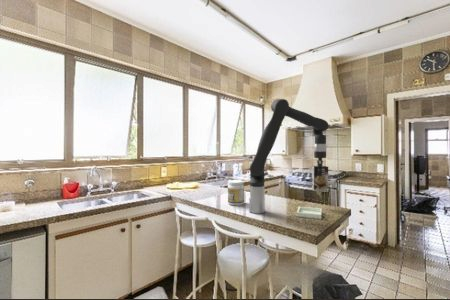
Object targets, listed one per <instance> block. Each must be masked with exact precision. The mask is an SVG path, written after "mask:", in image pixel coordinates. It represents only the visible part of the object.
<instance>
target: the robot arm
mask: <svg viewBox="0 0 450 300" xmlns="http://www.w3.org/2000/svg"><path fill="white" fill-rule="evenodd" d="M289 103H290V102H289V101H288V100H287V99H284V98H281V99H279V98H278V99H275V100H274V101H272V102H271V106H270V109H271V111H272V112H273V114H272V116H271V119H270V120H269V122H268V123H267V125H266V126H265V128H264V130H263V131H262V134H261V136H260V139H259V142H258V145H257V149H256V153H255V155H254V158H253V160H252V162H251V164H250V166H249V172H250V175H249V176H250V179H249V192H250V193H249V194H250V196H249V198H248V200H249V201H248V202H249V203H248V204H249V213H252V214H256V215H257V214H264V213H265V209H266V208H265V207H266V206H265V203H266V202H265V166H266V162H267V160H268V158H269V154H270V153H271V151H272V149H273V147H274V145H275V142H276V140H277V137H278V135H279V131H280V128H281V126H282V123H283V121H284V119H285V117H288V118H290V119H293V120H294V121H296V122H299V123H301V124H303V125H304V126H308V127H312V132H313V137H314V147H313V150H314V151H313V157H314V158H315V159H317V160H316V164H317V165H316V166H317V167H318V176H322V171H321V170H322V167H323V166H324V160H323V159H326V158H327V136H326V135H324V133H323V132H325V131H327V130H328V129H329V123H328V122H327V120H325V119H323V118H320V117H316V116H314V115H311V114H309V113H307V112H305V111H301V110H299V109H296V108H293V107H292V106H290V104H289ZM319 167H321V168H319Z"/></svg>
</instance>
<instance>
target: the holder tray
mask: <svg viewBox="0 0 450 300" xmlns="http://www.w3.org/2000/svg"><path fill="white" fill-rule="evenodd" d="M322 210H323V209H322V208H320V207H308V206H306V207H305V206H298V208H297V211H296V218H297V217H298V218H306V219H315V220H322V215H323V214H322Z"/></svg>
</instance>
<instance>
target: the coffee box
mask: <svg viewBox="0 0 450 300" xmlns="http://www.w3.org/2000/svg"><path fill="white" fill-rule="evenodd" d="M319 168H321V167H319ZM321 171H322V176H318V167H317V165H312V167H311V190H312V191H314V192H328V191H329V166H326V165H323V167H322V170H321Z"/></svg>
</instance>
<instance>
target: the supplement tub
mask: <svg viewBox="0 0 450 300" xmlns="http://www.w3.org/2000/svg"><path fill="white" fill-rule="evenodd" d="M227 203H228V204H229V205H230V206H234V205H238V206H241V205H244V204H245V185H244V181H243V180H240V179H235V180H234V179H232V180H229V181H228V185H227Z"/></svg>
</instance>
